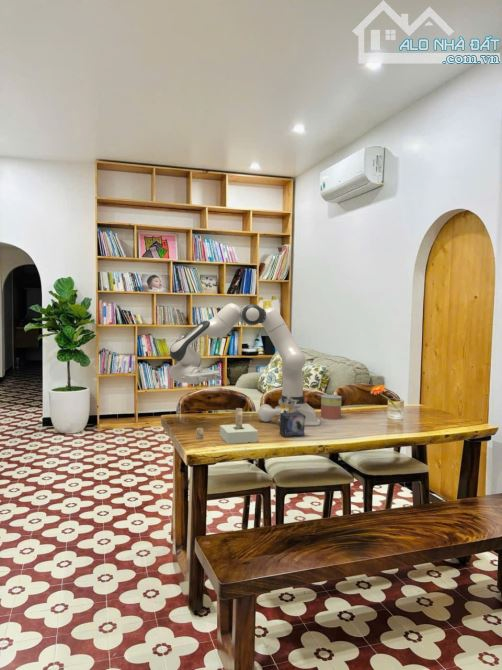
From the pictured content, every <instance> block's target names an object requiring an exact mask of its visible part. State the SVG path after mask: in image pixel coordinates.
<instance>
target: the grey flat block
mask: <svg viewBox="0 0 502 670" xmlns="http://www.w3.org/2000/svg"><path fill="white" fill-rule="evenodd" d="M235 425H236V423H235V424H221V425H219V437H220V438H222V440H223V441H224V442H225V443H226V444H227V445H232V444H235V445H236V444H247V443H248V442H251V443H258V441H259V440H258V439H259V430H257V429H256V428H255V427H253V426H252V425H251V424H250V423H242V429H237V430H235ZM248 444H249V443H248Z"/></svg>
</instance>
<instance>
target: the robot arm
mask: <svg viewBox="0 0 502 670" xmlns="http://www.w3.org/2000/svg"><path fill="white" fill-rule="evenodd" d="M239 322H241V323H243V324H245V325H248V326H254V325H258V324H259V325H261V326H262V327H263V328H264V330H265V332H266V334H267V335H268V336H267V337H269V339H270V341H271V343H272V345H273V346H274V349H275V350H276V351H277V354H278V355H279V357H280V358H281V375H282V376H281V378H282V379H281V380H282V382H281V383H282V384H281V389H282V390H281V394H280V400H281V401H282V402H283V403H284V402H285V401H286V400H287V397H286V395H287V396H288V397H289V398H292V399H293V400H294V401H295V400H296V401H297V403H296V405H297V404H300V407H299V408H297V409H298V410H299V412H301V413H302V414H304V415H305V424H304V426H321V419H319V418H317V417H318V416H317V412H316V410H315V409H314V408H313V407H312V406H310V405H309V404H308V403H307V402H308V398H307V397H306V396H305V395H304V393H303V392H304V378H303V368H304V367H305V365H306V356H305V353H304V352H303V351H302V349H301V348H300V346H299V344H298V342H297V341H296V339H295V338H294V336H293V334H292V332H291V331H290V329H289V327H288V325H287V324H286V322H285V320H284V318H283V317H282V315H281V314H280V313H279V311H278V310H277V309H276V308H275V307H267V308H265V309H264V308H262V307H261V306H259V305H257V304H254V303H250V304H246V305H244V306H241V307H240V306H238V304H235V303H233V302H232V303H228V304H225V306H224V307H222V308H221V309H220V310H219V311H218V312H217V313H215V315H214V316H213V317H212V318H210V319H208V320H203V321H201V322H200V323H198V324H197V325H196V326H194V327H193V328H192V329H191V330H190V331H189V332H187V333H186V334H185V335H183V336H182V337H181V338H180V339H178V340H177V341H175V342H174V343H172V345H171V346H170V349H169V355H170V359H172V360H174V361H176V362H177V363H176V364H175V365H172V366H170V368H169V377H170V378H171V380H173V381H175V382H178V383H183V384H184V383H185V384H189V385H194V386H196V385H199V384H201V383H204V382H209V381H216V380H222V375H221V371H218V370H215V369H214V370H213V369H209V368H208V367H200V366H201V363H202V356H201V355H200V353H198V352H197V351H196V350H194V349H193V348H192V347H191V345H192V344H194V343H195V342H196V341H197V340H199V338H201V337H202V336H210V337H216V338H222V337H226V335H228V334H229V332H230V331H231V330H232V329H233V328H234V326H236V325H237V324H238V323H239ZM285 394H286V395H285ZM287 401H288V400H287ZM290 403H291V402H289V403H288V404H289V405H290ZM293 404H294V402H293ZM292 412H294V411H292ZM279 418H280V415H279V416H278V419H277V421H278V423H280V419H279Z"/></svg>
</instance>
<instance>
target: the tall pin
mask: <svg viewBox="0 0 502 670" xmlns="http://www.w3.org/2000/svg"><path fill="white" fill-rule="evenodd" d="M235 424H236V425H235V430H237V429H242V424H243V408H241V407H237V408H235Z"/></svg>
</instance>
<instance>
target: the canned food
mask: <svg viewBox="0 0 502 670" xmlns="http://www.w3.org/2000/svg"><path fill="white" fill-rule="evenodd" d="M320 398H321V399H320V401H321V402H320V403H321V405H320V418H321V419H323V420H326V421H327V420H328V421H337V420H338V419H339V420H341V418H342V398H343V397H342V396H341V395H337V394H322V395H321V397H320Z"/></svg>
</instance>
